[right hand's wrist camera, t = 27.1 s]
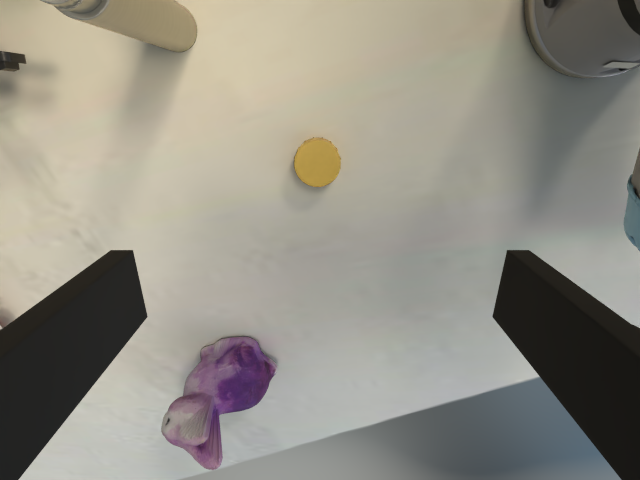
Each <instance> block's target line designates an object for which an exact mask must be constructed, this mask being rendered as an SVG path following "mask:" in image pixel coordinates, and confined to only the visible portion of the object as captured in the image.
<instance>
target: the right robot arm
mask: <svg viewBox="0 0 640 480" xmlns="http://www.w3.org/2000/svg"><path fill="white" fill-rule="evenodd" d="M524 10H525V21H526V27H527V31H528V35H529V38H530V40H531V43H532V45H533V47H534V49H535V50H536V52H537V53H538V55H539V56H540V57H541V58H542V60H543V61H544V62H545V63H546V64H548V65H549V66H550V67H552V68H553V69H554V70H556V71H558V72H560V73H563V74H565V75H568V76H572V77H579V78H593V77H605V76H612V75H617V74H620V73H624V72H626V71H629V70H631V69H634V68H636V67H639V66H640V0H525V7H524ZM627 189H628V193H629V194H628V200H627V206H626V212H625V217H624V230H625V233H626V235H627V237H628V238H629V240H630V241H631V242H632V244H633V245H634V246H636V247H637V248H638V250H639V251H640V149H639V153H638V156H637V160H636V164H635V167H634V171H633V174H632V175H631V176H630V178H629V180H628V184H627ZM146 318H147V313H146V308H145V303H144V299H143V294H142V290H141V285H140V281H139V276H138V272H137V267H136V262H135V258H134V253H133V250H111V251H109V252H108V253H107V254H105V255H104V256H102V257H101V258H100V259H98V260H97V261H96V262H94V263H93V264H91V265H90V266H89V267H87V268H86V269H85V270H83V271H82V272H80V273H79V274H78V275H76V276H75V277H73V278H72V279H71V280H69V281H68V282H67V283H65V284H64V285H62V286H61V287H60V288H58V289H57V290H56V291H54V292H53V293H51V294H50V295H49V296H47V297H46V298H44V299H43V300H42V301H40V302H39V303H38V304H36V305H35V306H33V307H32V308H31V309H29V310H28V311H27V312H25V313H24V314H22V315H21V316H20V317H18V318H17V319H15V320H14V321H13V322H11V323H10V324H9V325H7V326H6V327H4V328H3V329H1V330H0V480H18V479H19V478H20V477H21V476H22V474H23V473H24V472H25V471H26V469H27V468H28V467H29V466H30V464H31V463H32V462H33V461H34V459H35V458H36V457H37V455H38V454H39V453H40V452H41V450H42V449H43V448H44V447H45V445H46V444H47V443H48V442H49V440H50V439H51V438H52V437H53V435H54V434H55V433H56V431H57V430H58V429H59V428H60V426H61V425H62V424H63V423H64V421H65V420H66V419H67V418H68V416H69V415H70V414H71V413H72V411H73V410H74V409H75V407H76V406H77V405H78V404H79V402H80V401H81V400H82V399H83V397H84V396H85V395H86V394H87V392H88V391H89V390H90V389H91V387H92V386H93V385H94V384H95V382H96V381H97V380H98V378H99V377H100V376H101V375H102V373H103V372H104V371H105V370H106V368H107V367H108V366H109V365H110V363H111V362H112V361H113V360H114V358H115V357H116V356H117V354H118V353H119V352H120V351H121V349H122V348H123V347H124V346H125V344H126V343H127V342H128V341H129V339H130V338H131V337H132V336H133V334H134V333H135V332H136V331H137V329H138V328H139V327H140V325H141V324H142V323H143V322H144V320H145V319H146ZM493 318H494V319H495V320H496V322H497V323H498V324H499V325H500V327H501V328H502V329H503V331H504V332H505V333H506V334H507V336H508V337H509V338H510V339H511V341H512V342H513V343H514V344H515V346H516V347H517V348H518V349H519V351H520V352H521V353H522V354H523V356H524V357H525V358H526V360H527V361H528V362H529V363H530V365H531V366H532V367H533V368H534V370H535V371H536V372H537V373H538V375H539V376H540V377H541V378H542V380H543V381H544V382H545V383H546V385H547V386H548V387H549V388H550V390H551V391H552V392H553V393H554V395H555V396H556V397H557V399H558V400H559V401H560V402H561V404H562V405H563V406H564V407H565V409H566V410H567V411H568V413H569V414H570V415H571V416H572V417H573V419H574V420H575V421H576V423H577V424H578V425H579V426H580V428H581V429H582V430H583V431H584V433H585V434H586V435H587V437H588V438H589V439H590V440H591V442H592V443H593V444H594V445H595V447H596V448H597V449H598V450H599V452H600V453H601V454H602V455H603V457H604V458H605V459H606V460H607V462H608V463H609V464H610V466H611V467H612V468H613V469H614V471H615V472H616V473H617V474H618V476H619V477H620V478H621V479H622V480H640V328H638V327H636V326H634V325H631V324H630V323H629V322H627V321H626V320H625V319H623V318H622V317H620V316H619V315H618V314H616V313H615V312H613V311H612V310H611V309H609V308H608V307H607V306H605V305H604V304H602V303H601V302H600V301H598V300H597V299H596V298H594V297H593V296H591V295H590V294H589V293H587V292H586V291H584V290H583V289H582V288H580V287H579V286H578V285H576V284H575V283H573V282H572V281H571V280H569V279H568V278H567V277H565V276H564V275H562V274H561V273H560V272H558V271H557V270H555V269H554V268H553V267H551V266H550V265H549V264H547V263H546V262H544V261H543V260H542V259H540V258H539V257H538V256H536V255H535V254H533V253H532V252H531V251H529V250H507V253H506V258H505V262H504V267H503V272H502V276H501V281H500V285H499V290H498V294H497V299H496V303H495V308H494V313H493Z"/></svg>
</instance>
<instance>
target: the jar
mask: <svg viewBox="0 0 640 480" xmlns="http://www.w3.org/2000/svg"><path fill="white" fill-rule="evenodd" d="M41 1H43V2H45V3H48V4H51V5H54V6H55V7H56V8H57V9H58V10H59V11H60V12H62V13H63V14H65V15H66V16H68V17H70V18H73V19H76V20H79V21H82V22H85V23H88V24H91V25H94V26H97V27H100V28H103V29H107V30H110V31H113V32H116V33H119V34H122V35H125V36H128V37H131V38H134V39H137V40H140V41H143V42H147V43H150V44H153V45H156V46H159V47H162V48H165V49H168V50H171V51H175V52H183V51H186V50H188V49H189V48H190V47H191V46H192V45H193V44H194V42H195V40H196V36H197V26H196V22H195V20H194V18H193V16H192V14H191V13H190V12H189V11H188V10H187V9H186V8H185V7H184V6H182V5H181V4H179V3H178V2H176V1H175V0H41Z"/></svg>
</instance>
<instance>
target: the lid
mask: <svg viewBox="0 0 640 480" xmlns="http://www.w3.org/2000/svg"><path fill="white" fill-rule="evenodd" d="M294 159H295V160H294V168H295V171H296V173H297V175H298V177H299V178H300V179H301V180H302V181H303V182H304V183H306V184H307V185H310V186H314V187H321V186H325V185H328V184H329V183H331V182H332V181H333V180H334V179H335V178H336V177H337V175H338V173H339V171H340V165H341V162H340V160H341V158H340V156H339V154H338V150H337V148H336V147H335V146H334V145H333V144H332V143H331V141H328V140H326V139H323V138H314V137H313V138H312V139H309V140H307V141H305V142H304V143H303V144H302V145H301V146H300V147H299V148H298V151H297V153H296V155H295V157H294Z"/></svg>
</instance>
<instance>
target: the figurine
mask: <svg viewBox="0 0 640 480" xmlns="http://www.w3.org/2000/svg"><path fill="white" fill-rule="evenodd" d="M200 355H201V362H200V363H199V364H198V365H197V366H196V367H195V368H194V370H193V371H192V372H191V373H190V374H189V376H188V377H187V380H186V383H185V387H184V393H183V396H182V397H180V398H178V399H176V400H175V401H174V402H173V403H172V404H171V405H170V407H169V409H168V412H167V413H166V414H165V416H164V418H163V422H162V428H161V431H162V434H163V435H164V436H165V438H166V439H167V440H168V441H169V442H170V443H171V444H173V445H176V446H179V447H181V448H183V449H185V450H186V451H187V452H188V453H189V454H191V455H192V456H193V458H194V459H195V460H196V461H197V462H198V463H199V464H200V465H202V466H203V467H204V468H206V469H209V470H210V469H212V470H214V469H217V468H218V467H219V466H220V465H221V462H222V457H223V456H222V445H221V434H220V423H219V415H220V414H224V413H231V412H237V411H242V410H246V409H249V408H251V407H253V406H255V405H256V404H258V403H259V401H260V400H261V399H262V398H263V396H264V395H265V393H266V391H267V389H268V386H269V383H270V380H271V379H272V377H273V376H274V375H275V374H276V372H277V370H278V366H277V364H276V363H275V362H274V361H273V360H272V359H270V358H268V357H267V356H265V355H264V354H263V353H262V351H261V350H260V348H259V344H258V342H257V341H256V340H254V339H252V338H250V337H230V338H225V339H221V340H219V341H218V342H216V343H215V344H212V345H209V346H206V347H204V348H202V349H201V353H200Z"/></svg>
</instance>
